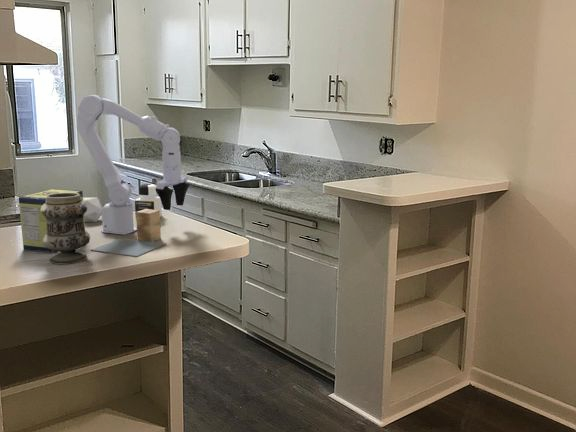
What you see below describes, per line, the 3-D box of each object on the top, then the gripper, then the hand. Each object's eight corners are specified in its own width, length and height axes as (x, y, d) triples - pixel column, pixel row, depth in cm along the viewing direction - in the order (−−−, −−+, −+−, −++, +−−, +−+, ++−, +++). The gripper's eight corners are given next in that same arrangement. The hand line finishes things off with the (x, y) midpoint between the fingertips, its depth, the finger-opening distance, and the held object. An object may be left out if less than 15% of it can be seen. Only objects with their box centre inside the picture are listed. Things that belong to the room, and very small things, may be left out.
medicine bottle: (135, 219, 210) (133, 186, 207) (143, 215, 217) (141, 182, 214) (154, 220, 209) (153, 186, 206) (162, 216, 215) (160, 183, 213)
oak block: (137, 240, 182) (135, 212, 180) (147, 236, 187) (145, 208, 185) (151, 242, 180) (149, 213, 178) (160, 238, 185) (159, 210, 183)
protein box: (87, 240, 183) (83, 190, 179) (51, 253, 168) (47, 199, 165) (59, 237, 186) (54, 188, 183) (22, 250, 172) (17, 197, 168)
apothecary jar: (84, 250, 171) (79, 189, 167) (97, 260, 161) (92, 195, 157) (40, 257, 165) (34, 193, 161) (50, 268, 155) (44, 200, 151)
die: (88, 226, 202) (104, 202, 203) (66, 213, 202) (82, 188, 204) (95, 229, 210) (111, 206, 212) (74, 216, 211) (90, 193, 212)
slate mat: (90, 250, 171) (90, 249, 171) (121, 239, 184) (121, 238, 184) (136, 257, 165) (136, 255, 165) (165, 244, 178) (165, 243, 178)
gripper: (169, 169, 183) (171, 212, 186) (194, 163, 196) (195, 204, 199) (150, 168, 186) (152, 210, 189) (176, 162, 199) (177, 202, 202)
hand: (173, 207), depth 194 cm, fingers open, 7 cm apart
